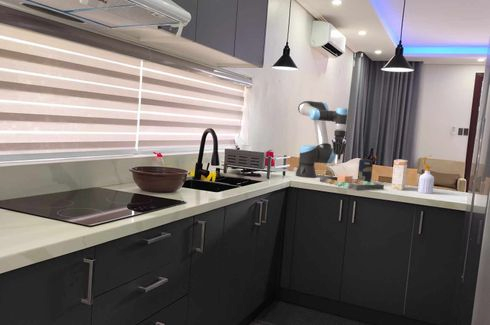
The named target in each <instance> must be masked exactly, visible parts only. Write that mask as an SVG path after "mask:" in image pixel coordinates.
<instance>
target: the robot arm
mask: <svg viewBox="0 0 490 325" xmlns="http://www.w3.org/2000/svg"><path fill="white" fill-rule="evenodd" d="M297 109H298V110H297V111H298V112H299V113H300V115H302V116H308V117H309V118H310V119H311V120H313V122H314V130H315V135H316V144H317V145H314V144H307V145H306V144H305V145H301V146H300V149H299V156H298V157H299V158H298V166H297V168H296V171H295V176H297V177H300V178H301V177H302V178H316V177H317V174H316V169H315V168H316V167H315V164H332V163H334V164H335V165H340V164H341V163H340V161H341V156H342V155H343V154H344V152H345V150H346V149H345V148H346V145H347V142H348V140H346V139H345V138H346V133H347V132H346V130H347V121H348V120H347V119H348V110H349V109H348V108H346V107H337V108H336V110H329V106H328V104H327V103H326V102H323V101H313V100H305V101H302V102H300V103H299V104H298V107H297ZM327 122H333V123H335V125H334V126H335V127H334V133H333V134H334V139H331V143H332V144H331V143H329V135H328V130H327V129H328V128H327V124H326V123H327Z"/></svg>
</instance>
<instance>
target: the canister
mask: <svg viewBox="0 0 490 325" xmlns="http://www.w3.org/2000/svg"><path fill="white" fill-rule="evenodd" d="M358 162H359V163H358V172H357V180H362V181H367V182H372V176H373V165H374V164H373V163H374V161H373V159H369V158H367V157H365V158H359V160H358Z"/></svg>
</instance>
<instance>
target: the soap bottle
mask: <svg viewBox="0 0 490 325" xmlns="http://www.w3.org/2000/svg"><path fill="white" fill-rule="evenodd" d="M429 157H431V155H427V156H424V157H423V165H422V166H423V167H425V168H426V169H424V173H422V174H421V175H419V178H418V184H417V185H418V186H417V192H418V193H421V194H428V195H431V194H433V193H434V185H435V176H433V175H432V174H431V170H430V168H431V167H433V165H427V164H426V158H429Z"/></svg>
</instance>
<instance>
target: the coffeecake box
mask: <svg viewBox="0 0 490 325" xmlns="http://www.w3.org/2000/svg"><path fill="white" fill-rule="evenodd" d="M408 161H409V160H407V159H399V158H398V159H394V160H393V169H392V177H391V178H392V179H391V185H390V186H391V188H390V190H394V189H396V190H397V191H403V190H404V189H405V188H406V179H407V170H408ZM396 190H395V191H396Z"/></svg>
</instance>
